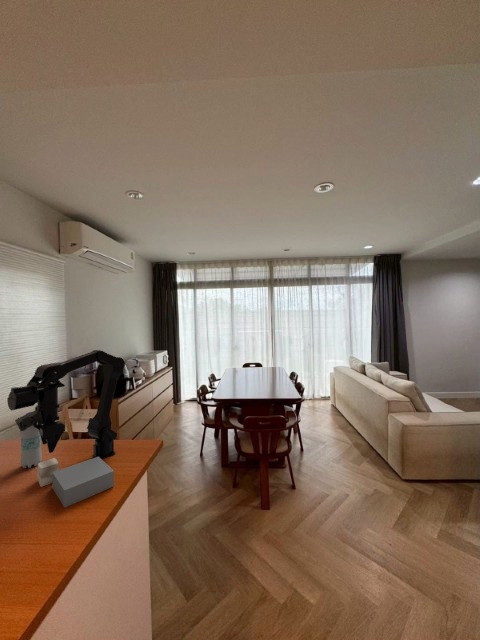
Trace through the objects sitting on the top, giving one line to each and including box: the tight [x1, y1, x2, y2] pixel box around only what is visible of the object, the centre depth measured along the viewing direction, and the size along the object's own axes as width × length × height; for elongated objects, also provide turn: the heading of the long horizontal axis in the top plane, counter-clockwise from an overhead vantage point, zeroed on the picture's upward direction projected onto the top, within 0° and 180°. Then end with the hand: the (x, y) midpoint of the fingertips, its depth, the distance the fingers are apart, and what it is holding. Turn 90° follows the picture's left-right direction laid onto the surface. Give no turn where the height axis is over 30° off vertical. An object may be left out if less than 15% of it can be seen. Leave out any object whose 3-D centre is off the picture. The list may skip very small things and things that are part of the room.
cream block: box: [37, 457, 60, 488], centre depth 93 cm, size 5×5×6 cm
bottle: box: [19, 411, 42, 469], centre depth 103 cm, size 7×7×20 cm
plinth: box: [52, 457, 115, 508], centre depth 89 cm, size 14×14×5 cm
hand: (47, 448), depth 93 cm, fingers open, 9 cm apart
